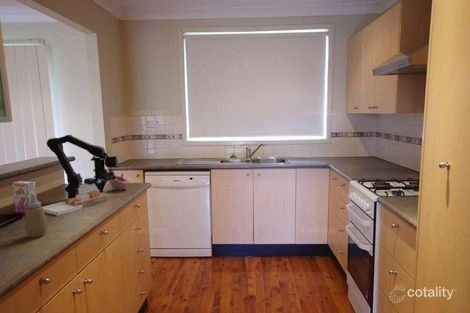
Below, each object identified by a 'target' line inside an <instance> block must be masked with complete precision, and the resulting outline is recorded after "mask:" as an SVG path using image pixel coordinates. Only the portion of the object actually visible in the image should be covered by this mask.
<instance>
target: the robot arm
mask: <svg viewBox="0 0 470 313" xmlns="http://www.w3.org/2000/svg"><path fill="white" fill-rule="evenodd" d="M65 143H69V144H71V145H74V146H76V147H78V148H81V149H83V150H85V151H86V152H88V153H89V154H90V155H91V156H92V158H91V159H90V161H92V162H94V169H93V172H94V175H93V177H89V178H84V180H83V177H82V176H81V173H76V172H75V170H74V168H73V167H72V164H71V162H70V161H69V158H68V157H67V155H66V153H65V152H64V145H63V144H65ZM46 146H47V147H48V149H49V150H50V151H51V152H53V154H55V156H56V158H57V160H58V161H59V164H60V165H61V167H62V170H64V173H65V174H66V179H67V183H68V185H67V186H66V187H65V188H64V190H65V192H67V193H66V195H67V198H66V199H65V200H64V201H67V199H71V198H75V197H76V195H78V194H80V193H79V189H80V188H81V185H82V184H85V185H95V187H96V188H97V189H98V190H97V191H100V194H103V192H104V188H105V186H106V184H107V183H109V181H111V179H112V180H113V179H116V176H115V175H116V174H115V172H114V171H108V170H107V168H118V166H119V161H118V160H119V159H118V156H117V155H114V156H109V155H108V153H107V152H106V150H105V148H104V147H103V146H99V145H96V144H91V143H88V142H86V141H84V140H82V139H80V138H78V137H75V136H74V135H72V134H65V135H64V136H60V137H52V138H48V139H47V140H46Z"/></svg>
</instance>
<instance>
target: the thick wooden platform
mask: <svg viewBox="0 0 470 313" xmlns="http://www.w3.org/2000/svg"><path fill="white" fill-rule="evenodd" d="M66 199H67V200H66V204H69V205H73V206H79V205H82V209H84V208H87V207H90V206H96V205H98V204H101V203H105V202H107V195H103V194H100V196H96V197H93V198H92V197H89V199H85V200H77V199H76V197H75V198H71V199H68V198H66Z"/></svg>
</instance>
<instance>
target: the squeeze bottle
mask: <svg viewBox="0 0 470 313" xmlns="http://www.w3.org/2000/svg"><path fill="white" fill-rule="evenodd" d="M41 205H42V202H41V201H39V200H38V198H37V199H36V196H35V194H32V196H31V202H30V203H28V208H27V209H26V211H25V215H24V217H25V219H24V220H25V221H24V222H25V223H24V230H25V232H26V233H27V235H28V237H29V238H31V239H34V238H40V237H43V236H45V234H46V232H47V229H48V222H47V217H46V213H45V212H44V208H43V207H44V206H41Z"/></svg>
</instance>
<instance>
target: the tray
mask: <svg viewBox="0 0 470 313" xmlns="http://www.w3.org/2000/svg"><path fill="white" fill-rule="evenodd" d="M42 207H43V208H44V212H45V214H48V215H52V216H53V215H54V216H57V217H58V216H62V215H65V214H69V213H72V212H75V211H79V210H82V209H83V208H82V205H79V206H73V205H69V204H67V200H64V201H61V202H60V201H59V202H57V203H53V204H49V205H48V204H47V205H44V206H42Z"/></svg>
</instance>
